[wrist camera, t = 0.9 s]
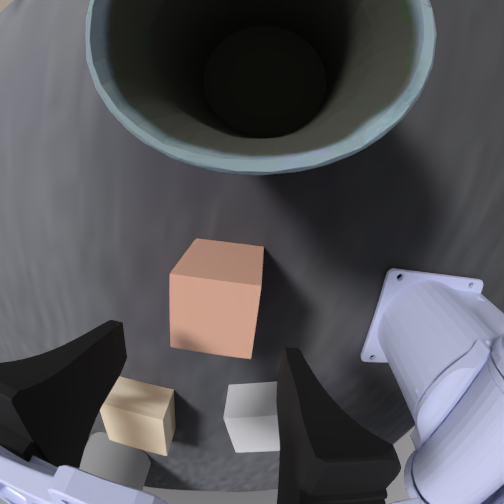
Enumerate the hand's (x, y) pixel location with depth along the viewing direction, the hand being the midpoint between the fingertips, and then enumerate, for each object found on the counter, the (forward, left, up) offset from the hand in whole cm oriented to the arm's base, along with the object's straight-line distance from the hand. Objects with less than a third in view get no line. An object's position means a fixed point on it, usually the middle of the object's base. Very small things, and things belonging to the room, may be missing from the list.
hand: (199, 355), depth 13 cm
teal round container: (-1, -13, -9) cm, 16 cm away
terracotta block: (0, 0, -9) cm, 9 cm away
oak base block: (+7, +15, -9) cm, 19 cm away
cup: (+12, +27, -9) cm, 31 cm away
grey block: (-4, +12, -9) cm, 16 cm away
